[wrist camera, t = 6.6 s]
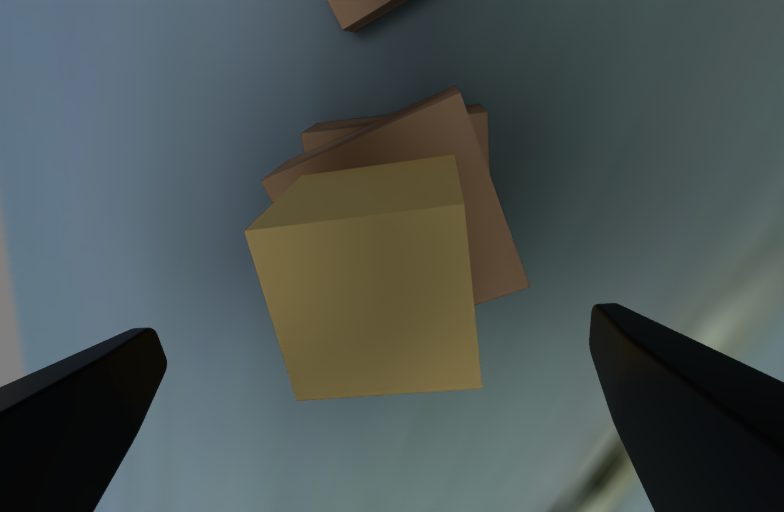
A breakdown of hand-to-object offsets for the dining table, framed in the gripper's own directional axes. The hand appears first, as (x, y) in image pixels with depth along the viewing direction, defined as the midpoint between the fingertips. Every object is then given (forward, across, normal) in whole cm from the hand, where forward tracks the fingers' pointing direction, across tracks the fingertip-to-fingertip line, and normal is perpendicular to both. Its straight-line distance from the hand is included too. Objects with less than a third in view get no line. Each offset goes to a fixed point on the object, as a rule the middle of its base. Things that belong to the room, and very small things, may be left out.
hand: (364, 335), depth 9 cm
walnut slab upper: (+10, 0, 0) cm, 10 cm away
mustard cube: (+7, 0, 0) cm, 7 cm away
